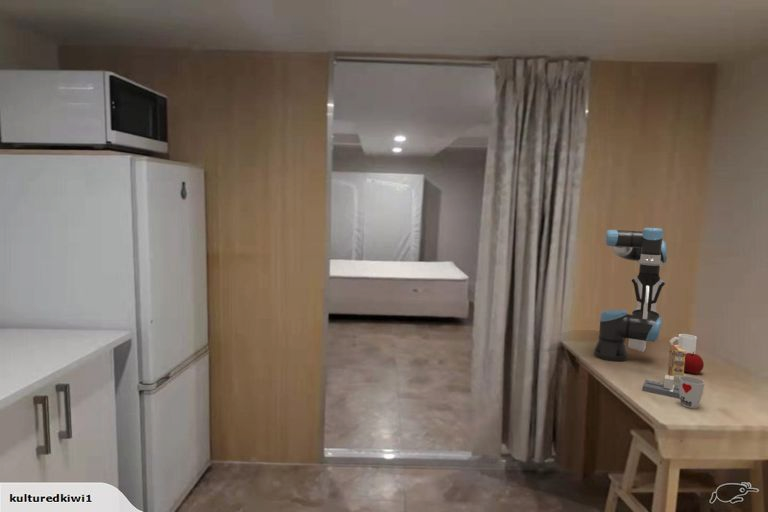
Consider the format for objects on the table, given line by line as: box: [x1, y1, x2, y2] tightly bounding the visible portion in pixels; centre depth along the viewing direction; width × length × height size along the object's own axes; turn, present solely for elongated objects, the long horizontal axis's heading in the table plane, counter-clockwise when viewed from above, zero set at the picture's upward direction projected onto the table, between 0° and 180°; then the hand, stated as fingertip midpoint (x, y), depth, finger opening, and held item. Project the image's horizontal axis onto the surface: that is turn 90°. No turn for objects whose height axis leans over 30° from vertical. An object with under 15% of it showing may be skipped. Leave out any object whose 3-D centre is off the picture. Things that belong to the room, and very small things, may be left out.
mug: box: [669, 333, 698, 354], centre depth 249 cm, size 12×9×10 cm
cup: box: [679, 375, 705, 409], centre depth 184 cm, size 8×8×10 cm
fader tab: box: [663, 374, 674, 389], centre depth 197 cm, size 3×5×4 cm, turn 146°
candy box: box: [667, 344, 686, 386], centre depth 208 cm, size 9×4×15 cm, turn 162°
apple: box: [684, 352, 704, 375], centre depth 222 cm, size 9×9×10 cm
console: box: [641, 379, 680, 399], centre depth 197 cm, size 18×9×4 cm, turn 56°
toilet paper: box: [627, 338, 648, 353], centre depth 258 cm, size 8×11×7 cm
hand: (644, 318), depth 211 cm, fingers closed
